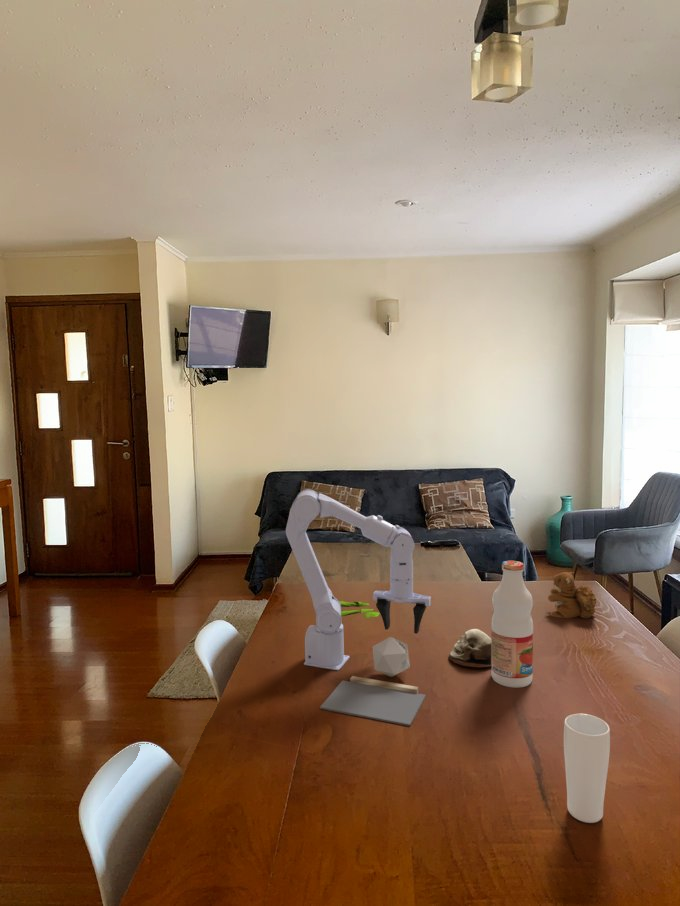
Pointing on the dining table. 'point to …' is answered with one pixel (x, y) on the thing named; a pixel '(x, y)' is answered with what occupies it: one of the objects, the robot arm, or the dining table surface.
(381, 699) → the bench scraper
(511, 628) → the fruit juice
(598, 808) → the drinking glass
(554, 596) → the stuffed squirrel
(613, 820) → the dining table surface
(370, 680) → the stop bar
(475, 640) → the skull
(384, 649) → the die
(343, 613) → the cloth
